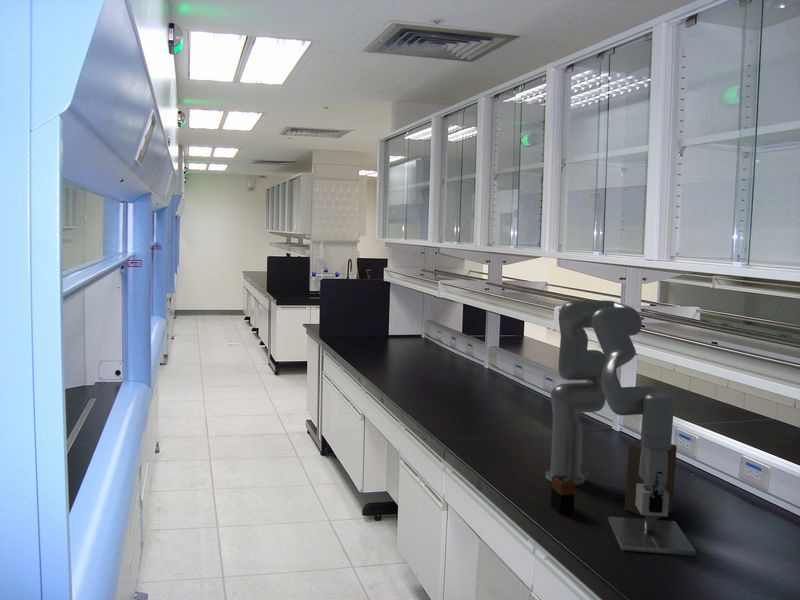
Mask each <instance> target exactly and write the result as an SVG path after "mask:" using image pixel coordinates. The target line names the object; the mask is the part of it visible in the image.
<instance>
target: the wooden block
mask: <svg viewBox="0 0 800 600" xmlns="http://www.w3.org/2000/svg"><path fill="white" fill-rule="evenodd" d="M641 448H642V446H641V438H640V439H638V440H636V441H633V442H630V443H628V449H627V465H626V480H625V496H624V498H625V499H624V510H625V511H627V512H629V513H632V514H633V513H634V514H635V515H638V516H642V517H643V518H645V515H641V513H640V512H639V510H638V508H637V507H636V505H635V502H636V486H637V483H639V484H643V480H642V479H641V478H640V476H639V463H640V455H641ZM677 448H678V446H677V445H676V444H673V443H671V449H669V450H668V469H667V483H666V486H665V487H666V491H667V492H668V493H669V505H668V515H669V514H670V513H672V512H673V503H674V493H675V492H674V489H675V475H676V474H675V473H676V462H677ZM654 484H656V485H657V483H654ZM663 517H664V516H657V520H661V519H662V518H663Z"/></svg>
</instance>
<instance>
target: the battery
mask: <svg viewBox="0 0 800 600" xmlns="http://www.w3.org/2000/svg"><path fill="white" fill-rule="evenodd" d="M550 489H551V490H550V492H551V493H550V505H551V507H553V509H554V510H556V511H557V512H558V513H559V514H560V515H563V514H566V515H567V514H573V513H574V512H575V511H574V510H575V497H576V496H575V494H576V486H575V482H573V481H572V480H571V479H569V478H568V477H567V476H566V475H565V474H564V473H558V475H554V476H552V482H551V488H550Z"/></svg>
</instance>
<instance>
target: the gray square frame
mask: <svg viewBox="0 0 800 600" xmlns="http://www.w3.org/2000/svg"><path fill="white" fill-rule="evenodd" d="M653 485H656V484H653ZM655 490H657V488H654V492H655ZM663 493H664V494H663V506H662V513H655V512H650V511H649V501H650V497H651V486H649V487H648V486H647V485H646V484H639V483H637V486H636V502H635V505H636V507H637V508H638V510H639V512H640V513H641V515H651V516H663V517H669V514H668V505H669V493H668V492H667V491H666V487H664V492H663ZM641 515H640V516H641Z"/></svg>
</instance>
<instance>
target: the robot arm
mask: <svg viewBox="0 0 800 600" xmlns="http://www.w3.org/2000/svg"><path fill="white" fill-rule="evenodd" d="M642 323H643V321H642V318H641V316H640V314H639V312H638V310H636V309H635V308H633V307H632V306H629V305H627V304H626V305H625V304H622V303H620V302H618V301H614V300H600V299H599V300H598V299H597V300H594V299H593V300H592V299H590V300H589V299H585V300H583V299H582V300H571V301H568V302H566V303H564V304H563V305H562V306H561V307H560V309H559V312H558V324H559V325H558V326H559V332H560V333H559V335H560V340H559V341H560V343H559V352H558V375H559V376H560V378H562V379H563V380H567V381H586V382H566V383H561V384H558V385H556V386H555V387H553V389H552V390H551V393H550V402H551V409H552V435H551V455H550V456H551V457H550V469H549V470H547V471H546V472H545V475H544V476H545V479H546V480H547V481H549V482H551V483H552V476H554V475H558V473H564V474H565V475H566V476H567V477H568V478H569V479H571V480H572V481H573V482H575V487H576V486H580V485H583V484H584V483H585V482H586V477H585V475H584V474H582V473H581V468H582V452H583V451H582V450H583V437H584V436H583V433H584V428H583V424H582V422H581V420H580V419H579V417H578V414H581V413H594V412H595V413H596V412H599V411H601V410H603V408H604V407H605V404H606V403H607V405H608V406H609V408H610V410H611V411H612V412H613V413H614V414H615V415H617V416H634V415H635V416H637V415H639V416H640V415H641V416H642V418H641V430H640V439H641V446H642V448H641V455H640V463H639V476H640V478H641V479H642V480H643V484H646V485H647V486H648V487H649V486H651V497H650V501H649V511H650V512H655V513H662V506H663V494H664V493H663V492H664V487H665V486H666V483H667V469H668V450H669V449H671V444H672V440H673V439H672V438H673V436H672V435H673V425H674V423H673V422H674V412H675V411H674V409H675V399H674V397H673V396H671V395H669V394H668V393H663V392H661V391H660V390H658V389H657V388H655V387H653V386H650V385H649V386H648V385H647V386H645V385H644V386H643V385H642V386H623V387H622V386H621V382H620V380H619V378H618V373H617V369H618V368H620V367H622V366H624V365H625V364H627V363H629V362H630V361H632V360H633V359H634V358H635V357H636V354H637V351H636V347H635V345H634V343H633V341H632V339H631V337H632V336H635V335H638V334H639V333H640V332H641V329H642V325H643V324H642ZM585 328H586V329H587V328H590V329H593V330H594V333H595V335H596V338H597V341H598V342H599V346H600V347H601V350H602V351H600V350H598V349H588V344H589V336H588V334H587V332H586V330H585ZM630 336H631V337H630ZM654 483H657V485H653V484H654ZM654 488H657V490H655V492H654Z"/></svg>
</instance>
